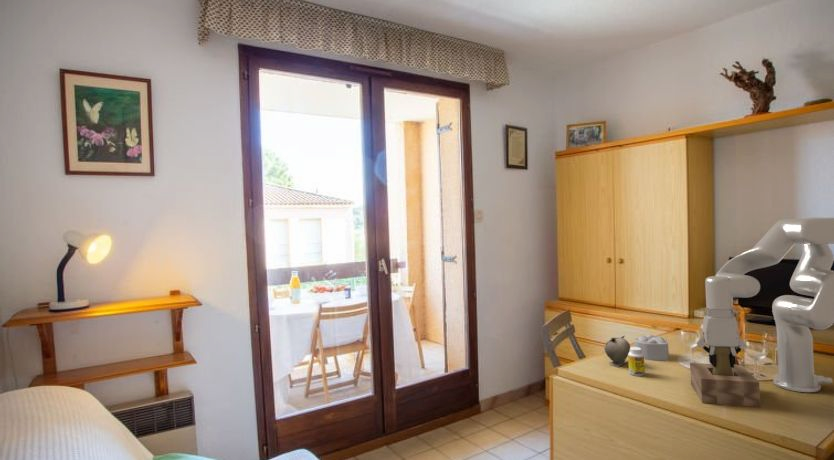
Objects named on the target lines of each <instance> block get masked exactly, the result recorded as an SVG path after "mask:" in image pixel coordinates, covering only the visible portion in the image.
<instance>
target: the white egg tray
mask: <svg viewBox="0 0 834 460" xmlns="http://www.w3.org/2000/svg"><path fill="white" fill-rule="evenodd" d="M633 347H639V348H641V351H642V352H641V353H643V354H644V361H645V360H646V361H655V362H656V361H657V362H660V361H661V362H663V361H669V360H670V354H669V353H670V351H669V342H668V341H667V339H666V338H664V337H662V336H654V334H647V335H640V336H638V337H637V338H635V339H634V340H633Z"/></svg>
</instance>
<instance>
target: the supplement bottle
mask: <svg viewBox="0 0 834 460" xmlns="http://www.w3.org/2000/svg"><path fill="white" fill-rule="evenodd" d="M641 352H642V351H641V348H639V347H634V346H630V351H629V353H628V356H627V358H628V361H627V362H628V373H629V374H630V375H632V376H636V377H642V376H644V375H645V372H646V371H645V359H644V354H643V353H641Z"/></svg>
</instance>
